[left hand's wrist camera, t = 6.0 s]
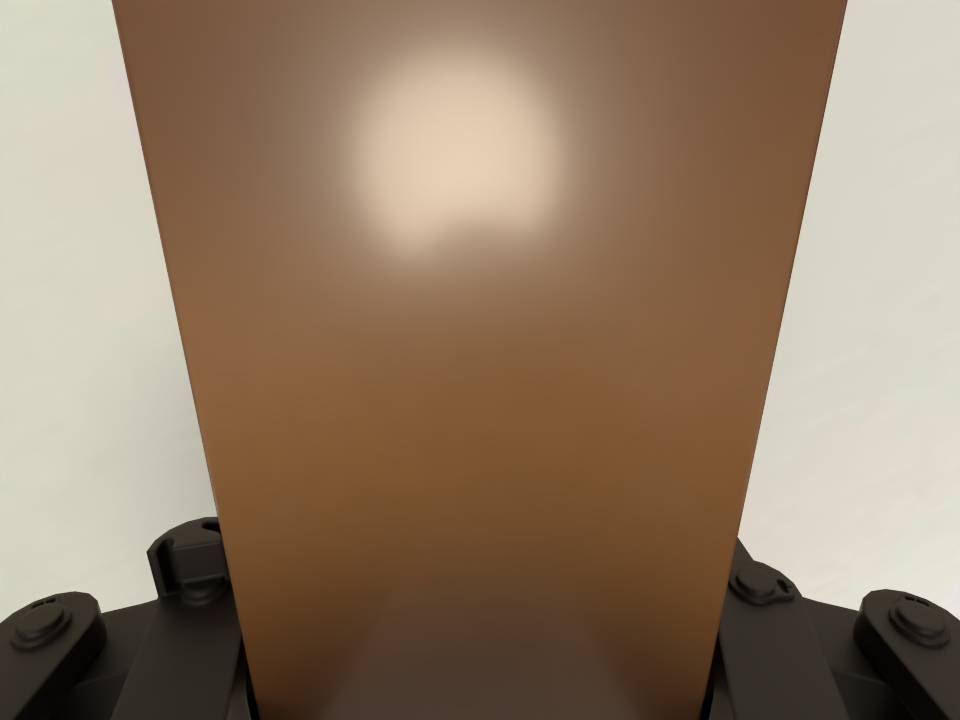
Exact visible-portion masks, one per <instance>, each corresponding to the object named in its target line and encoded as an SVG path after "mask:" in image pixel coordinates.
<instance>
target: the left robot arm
mask: <svg viewBox="0 0 960 720" xmlns="http://www.w3.org/2000/svg"><path fill="white" fill-rule="evenodd" d="M147 556H148V560H149V563H150V567H151V571H152V574H153V578H154V582H155V586H156V589H157V593H158V598H157V599H156V600H153V601H150V602H147V603H143V604H139V605H135V606H131V607H126V608H122V609H118V610H113V611H109V612H105V613H101V611H100V607H99V604H98V601H97V600H96V599H95V598H94V597H93V596H91V595H90V594H88V593H82V592H75V591H74V592H67V593H60V594H55V595H52V596H49V597H46V598H43V599H40V600H38V601H35V602H33V603H31V604H29V605H27V606H25V607H23V608H22V609H20V610H18V611H16V612H14V613H13V614H11V615H10V616H9V617H8V618H6V619H5V620H4V621H3V622H1V623H0V720H260V719H259V715H258V710H257V705H256V700H255V695H254V690H253V685H252V681H251V676H250V671H249V666H248V661H247V656H246V651H245V646H244V642H243V637H242V632H241V627H240V622H239V617H238V612H237V608H236V603H235V598H234V593H233V588H232V583H231V578H230V574H229V569H228V564H227V559H226V554H225V549H224V544H223V539H222V535H221V530H220V525H219V520H218V517H205V518H201V519H197V520H193V521H189V522H186V523H183V524H181V525H179V526H177V527H175V528H172V529H170V530H169V531H167V532H166V533H165V534H163V535H162V536H160V537H159V538H158V539H156V540H155V541H154V543H153V544H152V545H151V547H150V548H149V549H148V551H147ZM700 720H960V620H958V619H957V618H956V617H955V616H953V615H952V614H951V613H950V612H948V611H947V610H945V609H943V608H941V607H939V606H938V605H936V604H934V603H932V602H930V601H928V600H927V599H924V598H921V597H918V596H915V595H912V594H910V593H907V592H902V591H895V590H888V589H883V590H876V591H871V592H870V593H869V594H867V595H866V596H865V597H864V598H863V600H862V603H861V606H860V609H859V611H856V610H852V609H848V608H843V607H839V606H835V605H830V604H826V603H822V602H817V601H814V600H811V599H807V598H804V597H802V595H801V594H800V592H799V591H798V589H797V587H796V586H795V584H794V583H793V582H792V581H791V580H789V579H788V578H787V577H786V576H785V575H783V574H782V573H781V572H780V571H778V570H776V569H774V568H772V567H770V566H768V565H766V564H764V563H761V562H757V561H754V560H753V559H752V557H751V556H750V555H749V553H748V552H747V550H746V549H745V547H744V546H743V544H742V543H741V541H740V540H739V538H738V537H737V541H736V546H735V551H734V555H733V560H732V565H731V570H730V575H729V580H728V585H727V590H726V594H725V599H724V604H723V609H722V614H721V619H720V624H719V628H718V633H717V638H716V643H715V648H714V653H713V658H712V663H711V667H710V672H709V677H708V682H707V687H706V692H705V697H704V702H703V706H702V711H701V716H700Z"/></svg>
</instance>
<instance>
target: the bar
mask: <svg viewBox="0 0 960 720" xmlns="http://www.w3.org/2000/svg"><path fill="white" fill-rule="evenodd" d="M112 4H113V9H114V14H115V19H116V24H117V29H118V34H119V39H120V43H121V48H122V53H123V58H124V63H125V68H126V73H127V77H128V82H129V87H130V92H131V97H132V102H133V107H134V111H135V116H136V121H137V126H138V131H139V136H140V141H141V146H142V150H143V155H144V160H145V165H146V170H147V175H148V180H149V184H150V189H151V194H152V199H153V204H154V209H155V214H156V218H157V223H158V228H159V233H160V238H161V243H162V248H163V253H164V257H165V262H166V267H167V272H168V277H169V282H170V287H171V291H172V296H173V301H174V306H175V311H176V316H177V321H178V325H179V330H180V335H181V340H182V345H183V350H184V355H185V360H186V364H187V369H188V374H189V379H190V384H191V389H192V394H193V398H194V403H195V408H196V413H197V418H198V423H199V428H200V432H201V437H202V442H203V447H204V452H205V457H206V462H207V467H208V471H209V476H210V481H211V486H212V491H213V496H214V501H215V505H216V510H217V515H218V520H219V525H220V530H221V535H222V539H223V544H224V549H225V554H226V559H227V564H228V569H229V574H230V578H231V583H232V588H233V593H234V598H235V603H236V608H237V612H238V617H239V622H240V627H241V632H242V637H243V642H244V646H245V651H246V656H247V661H248V666H249V671H250V676H251V681H252V685H253V690H254V695H255V700H256V705H257V710H258V715H259V719H260V720H700V716H701V711H702V706H703V702H704V697H705V692H706V687H707V682H708V677H709V672H710V667H711V663H712V658H713V653H714V648H715V643H716V638H717V633H718V628H719V624H720V619H721V614H722V609H723V604H724V599H725V594H726V590H727V585H728V580H729V575H730V570H731V565H732V560H733V555H734V551H735V546H736V541H737V536H738V531H739V526H740V521H741V517H742V512H743V507H744V502H745V497H746V492H747V487H748V482H749V478H750V473H751V468H752V463H753V458H754V453H755V448H756V443H757V439H758V434H759V429H760V424H761V419H762V414H763V409H764V405H765V400H766V395H767V390H768V385H769V380H770V375H771V370H772V366H773V361H774V356H775V351H776V346H777V341H778V336H779V332H780V327H781V322H782V317H783V312H784V307H785V302H786V297H787V293H788V288H789V283H790V278H791V273H792V268H793V263H794V258H795V254H796V249H797V244H798V239H799V234H800V229H801V224H802V220H803V215H804V210H805V205H806V200H807V195H808V190H809V185H810V181H811V176H812V171H813V166H814V161H815V156H816V151H817V147H818V142H819V137H820V132H821V127H822V122H823V117H824V112H825V108H826V103H827V98H828V93H829V88H830V83H831V78H832V73H833V69H834V64H835V59H836V54H837V49H838V44H839V39H840V35H841V30H842V25H843V20H844V15H845V10H846V5H847V0H112Z"/></svg>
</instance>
